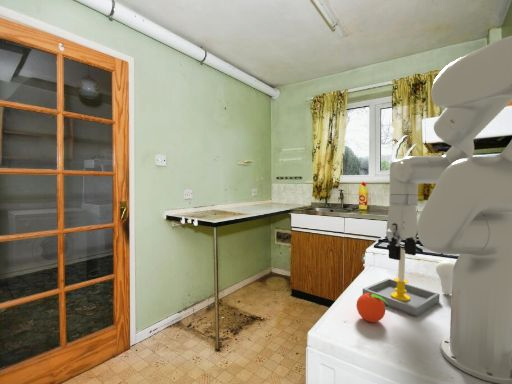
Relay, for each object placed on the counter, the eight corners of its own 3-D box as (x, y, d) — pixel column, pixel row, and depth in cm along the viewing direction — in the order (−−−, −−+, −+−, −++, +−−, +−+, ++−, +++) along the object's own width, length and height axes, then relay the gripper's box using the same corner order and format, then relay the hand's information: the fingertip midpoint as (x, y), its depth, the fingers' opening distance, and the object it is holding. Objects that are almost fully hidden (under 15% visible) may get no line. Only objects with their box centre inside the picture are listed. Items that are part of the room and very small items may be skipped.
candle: (409, 295, 82) (411, 246, 81) (411, 302, 77) (413, 250, 77) (390, 292, 84) (392, 244, 83) (391, 299, 79) (393, 248, 79)
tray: (439, 302, 79) (439, 294, 79) (415, 317, 70) (416, 308, 70) (388, 285, 92) (388, 278, 92) (362, 296, 83) (362, 288, 82)
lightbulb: (450, 291, 87) (451, 258, 87) (463, 299, 81) (464, 264, 81) (431, 290, 88) (432, 257, 87) (442, 298, 82) (443, 263, 81)
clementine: (391, 319, 69) (391, 293, 68) (387, 332, 63) (388, 303, 63) (359, 311, 73) (359, 286, 73) (353, 322, 67) (354, 295, 67)
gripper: (404, 199, 88) (403, 250, 88) (376, 200, 77) (375, 258, 78) (429, 200, 81) (428, 255, 82) (402, 201, 71) (401, 264, 72)
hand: (402, 256), depth 80 cm, fingers open, 9 cm apart
